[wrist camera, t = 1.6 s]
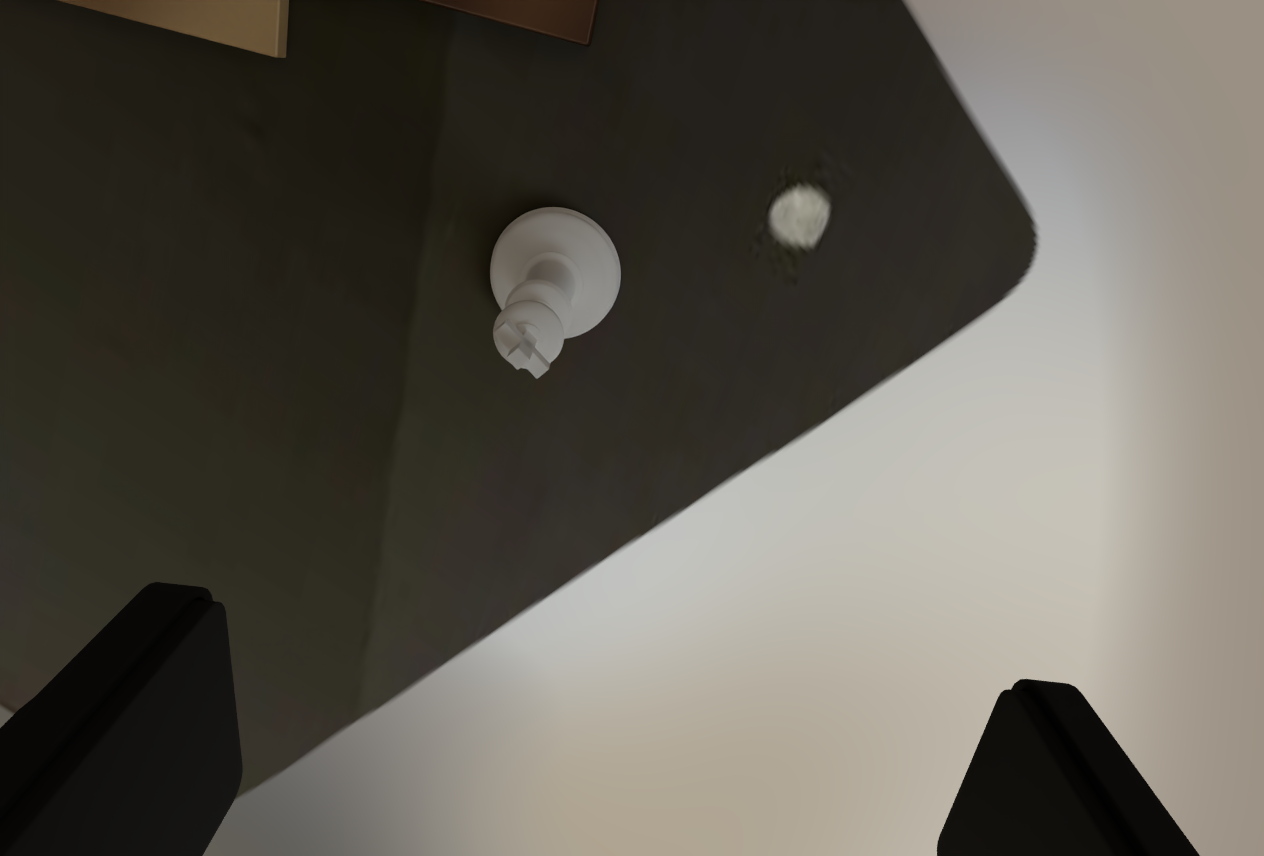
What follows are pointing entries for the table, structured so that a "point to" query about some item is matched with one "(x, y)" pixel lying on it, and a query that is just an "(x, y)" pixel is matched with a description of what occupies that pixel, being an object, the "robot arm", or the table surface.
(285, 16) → the spatula
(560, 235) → the chess piece
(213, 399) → the table surface
